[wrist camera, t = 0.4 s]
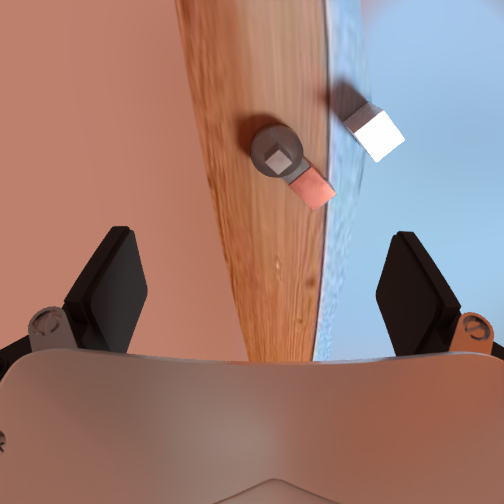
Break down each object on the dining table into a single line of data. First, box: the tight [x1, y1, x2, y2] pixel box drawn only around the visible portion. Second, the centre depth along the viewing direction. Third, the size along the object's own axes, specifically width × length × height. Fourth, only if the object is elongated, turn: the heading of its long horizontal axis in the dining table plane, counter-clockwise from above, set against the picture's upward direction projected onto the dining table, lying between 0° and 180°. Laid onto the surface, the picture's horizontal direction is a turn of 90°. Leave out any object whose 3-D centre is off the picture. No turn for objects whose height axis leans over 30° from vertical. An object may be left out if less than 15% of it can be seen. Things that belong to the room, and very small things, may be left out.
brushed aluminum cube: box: [343, 102, 404, 162], centre depth 38 cm, size 5×5×6 cm
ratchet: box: [251, 124, 336, 211], centre depth 42 cm, size 14×7×6 cm, turn 45°
